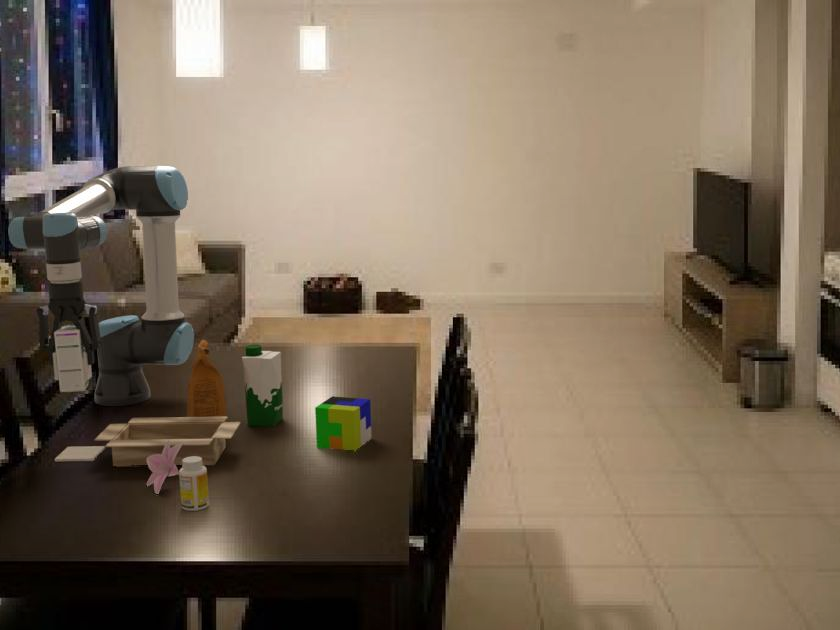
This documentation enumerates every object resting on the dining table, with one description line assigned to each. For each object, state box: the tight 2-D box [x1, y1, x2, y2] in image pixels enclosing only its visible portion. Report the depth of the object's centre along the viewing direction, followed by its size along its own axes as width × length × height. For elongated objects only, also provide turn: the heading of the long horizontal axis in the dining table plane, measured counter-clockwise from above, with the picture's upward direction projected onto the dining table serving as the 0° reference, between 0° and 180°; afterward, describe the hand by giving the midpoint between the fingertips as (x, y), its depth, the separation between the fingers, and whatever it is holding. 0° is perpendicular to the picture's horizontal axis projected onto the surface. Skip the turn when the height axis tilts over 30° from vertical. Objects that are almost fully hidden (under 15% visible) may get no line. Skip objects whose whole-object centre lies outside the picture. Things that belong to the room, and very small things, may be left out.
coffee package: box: [186, 339, 227, 422], centre depth 268 cm, size 10×12×22 cm
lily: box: [145, 440, 182, 495], centre depth 229 cm, size 12×12×10 cm
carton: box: [94, 415, 241, 467], centre depth 248 cm, size 21×31×6 cm
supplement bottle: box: [178, 456, 210, 512], centre depth 216 cm, size 6×6×10 cm
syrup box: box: [54, 324, 89, 393], centre depth 246 cm, size 6×6×14 cm
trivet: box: [54, 445, 106, 462], centre depth 251 cm, size 9×9×1 cm
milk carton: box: [241, 344, 284, 427], centre depth 272 cm, size 9×9×20 cm
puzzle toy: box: [314, 395, 372, 452], centre depth 254 cm, size 10×10×10 cm
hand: (73, 378), depth 247 cm, fingers closed on syrup box, 6 cm apart
